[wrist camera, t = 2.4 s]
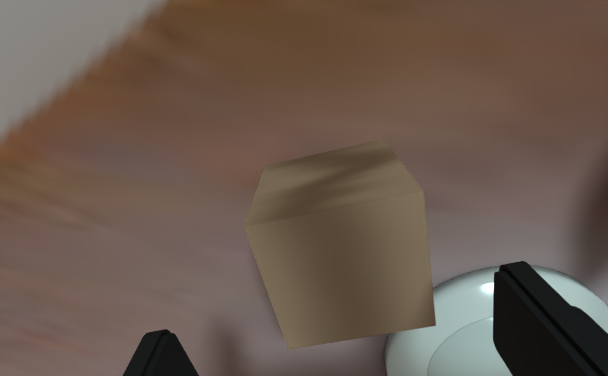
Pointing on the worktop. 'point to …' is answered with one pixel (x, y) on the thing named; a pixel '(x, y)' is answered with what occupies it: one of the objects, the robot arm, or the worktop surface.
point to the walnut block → (342, 245)
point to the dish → (472, 327)
